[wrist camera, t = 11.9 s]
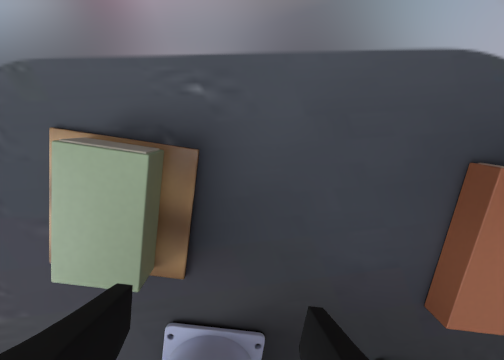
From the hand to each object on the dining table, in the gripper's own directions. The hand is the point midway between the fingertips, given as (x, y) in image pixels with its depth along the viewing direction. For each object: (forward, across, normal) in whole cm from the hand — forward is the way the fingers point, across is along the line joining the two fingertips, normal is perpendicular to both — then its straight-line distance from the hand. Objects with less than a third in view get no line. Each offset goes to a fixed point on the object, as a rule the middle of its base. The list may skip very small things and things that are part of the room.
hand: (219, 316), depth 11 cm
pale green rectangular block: (+9, +8, 0) cm, 12 cm away
